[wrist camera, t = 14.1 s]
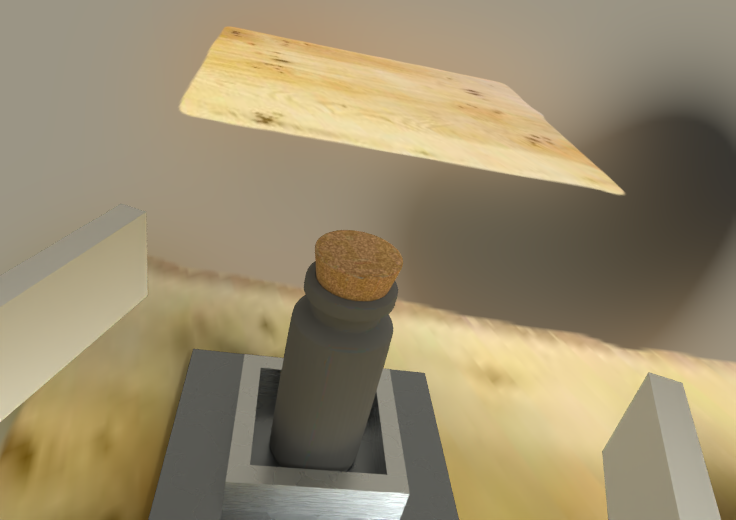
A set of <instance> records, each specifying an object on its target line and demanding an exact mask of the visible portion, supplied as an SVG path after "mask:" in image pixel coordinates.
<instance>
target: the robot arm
mask: <svg viewBox="0 0 736 520" xmlns="http://www.w3.org/2000/svg"><path fill="white" fill-rule="evenodd" d="M146 222H147V216H146V212H145V211H142V210H139V209H136V208H133V207H130V206H127V205H124V204H120V205H118V206H116V207H115V208H113V209H111V210H110V211H108V212H106V213H105V214H103V215H101V216H99V217H98V218H96V219H94V220H93V221H91V222H89V223H88V224H86V225H84V226H83V227H81V228H79V229H77V230H76V231H74V232H72V233H71V234H69V235H67V236H66V237H64V238H62V239H61V240H59V241H57V242H56V243H54V244H52V245H51V246H49V247H47V248H46V249H44V250H42V251H40V252H39V253H37V254H36V255H34V256H32V257H30V258H29V259H27V260H26V261H24V262H22V263H20V264H19V265H17V266H15V267H14V268H12V269H10V270H8V271H7V272H5V273H3V274H2V275H0V422H1V421H2V420H3V419H4V418H5V417H7V416H8V415H9V414H10V413H11V412H12V411H14V410H15V409H16V408H17V407H18V406H20V405H21V404H22V403H23V402H24V401H25V400H27V399H28V398H29V397H30V396H31V395H32V394H34V393H35V392H36V391H37V390H38V389H39V388H41V387H42V386H43V385H44V384H45V383H46V382H48V381H49V380H50V379H51V378H52V377H53V376H55V375H56V374H57V373H58V372H59V371H60V370H62V369H63V368H64V367H65V366H66V365H67V364H69V363H70V362H71V361H72V360H73V359H74V358H76V357H77V356H78V355H79V354H80V353H81V352H83V351H84V350H85V349H86V348H87V347H88V346H90V345H91V344H92V343H93V342H94V341H95V340H97V339H98V338H99V337H100V336H101V335H102V334H104V333H105V332H106V331H107V330H108V329H109V328H111V327H112V326H113V325H114V324H115V323H116V322H118V321H119V320H120V319H121V318H122V317H123V316H125V315H126V314H127V313H128V312H129V311H130V310H132V309H133V308H134V307H135V306H136V305H137V304H139V303H140V302H141V301H142V300H143V299H144V298H146V297H147V296H148V277H147V223H146ZM602 454H603V465H604V477H605V488H606V499H607V511H608V520H721V517H720V513H719V510H718V506H717V503H716V499H715V496H714V492H713V489H712V485H711V482H710V478H709V475H708V471H707V468H706V464H705V461H704V457H703V454H702V450H701V447H700V443H699V440H698V436H697V433H696V429H695V425H694V422H693V418H692V415H691V411H690V408H689V404H688V401H687V397H686V394H685V390H684V387H683V383H681V382H677V381H674V380H671V379H668V378H665V377H662V376H659V375H656V374H652V373H648V374H647V376H646V378H645V379H644V381H643V383H642V385H641V386H640V388H639V390H638V391H637V393H636V395H635V397H634V398H633V400H632V402H631V403H630V405H629V407H628V409H627V410H626V412H625V414H624V415H623V417H622V419H621V420H620V422H619V424H618V426H617V427H616V429H615V431H614V432H613V434H612V436H611V438H610V439H609V441H608V443H607V444H606V446H605V448H604V450H603V451H602Z"/></svg>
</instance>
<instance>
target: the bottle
mask: <svg viewBox="0 0 736 520" xmlns="http://www.w3.org/2000/svg"><path fill="white" fill-rule="evenodd" d="M315 258H316V261H315V262H314V263H312V264H311V266H310V267H309V268H308V271H307V272H306V277H305V282H304V291H305V294H306V295H305V296H303V297H302V298H301V299H300V300H299V301H298V302H297V303H296V305H295V306H294V309H293V313H292V317H291V322H290V327H289V332H288V337H287V343H286V349H285V354H284V360H283V365H282V371H281V376H280V382H279V387H278V393H277V398H276V404H275V410H274V416H273V423H272V429H271V435H270V447H271V451H272V453H273V456H274V458H275V460H276V461H277V462H278V464H279V465H280V466H281V467H285V468H300V469H314V470H328V471H342V472H346V471H347V470H348V469H349V468H350V467H351V466H352V464H353V462H354V461H355V458H356V456H357V453H358V450H359V447H360V444H361V441H362V437H363V434H364V431H365V427H366V424H367V421H368V417H369V414H370V411H371V407H372V404H373V401H374V397H375V394H376V391H377V387H378V384H379V381H380V377H381V374H382V370H383V367H384V364H385V360H386V357H387V353H388V350H389V346H390V342H391V338H392V334H393V324H392V321H391V318H390V316H389V315H388V314H389V313H390V312H391V311H392V309H393V308H394V306H395V302H396V299H397V294H398V287H397V284H396V282H395V279H396V277H397V276H398V274H399V272H400V270H401V268H402V265H403V260H402V257H401V255H400V253H399V251H398V250H397V249H396V248H395V247H394V246H392V245H391V244H390V243H388V242H387V241H385V240H383V239H382V238H379V237H377V236H375V235H372V234H368V233H365V232H359V231H352V230H338V231H333V232H329V233H326V234H325V235H323V236H321V237H320V238H319V239H318V240H317V242H316V245H315Z"/></svg>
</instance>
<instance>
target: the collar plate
mask: <svg viewBox="0 0 736 520" xmlns="http://www.w3.org/2000/svg"><path fill="white" fill-rule="evenodd" d="M283 360H284V358H278V357H268V356H259V355H249V354H237V353H228V352H218V351H208V350H199V349H193V352H192V356H191V360H190V364H189V368H188V371H187V375H186V379H185V383H184V387H183V390H182V394H181V398H180V402H179V406H178V409H177V413H176V417H175V421H174V424H173V428H172V432H171V436H170V440H169V443H168V447H167V451H166V455H165V459H164V462H163V466H162V470H161V474H160V477H159V481H158V485H157V489H156V493H155V496H154V500H153V504H152V508H151V512H150V515H149V519H148V520H459V518H458V514H457V509H456V505H455V501H454V497H453V492H452V488H451V484H450V479H449V475H448V471H447V467H446V462H445V458H444V454H443V449H442V445H441V441H440V437H439V432H438V428H437V424H436V419H435V415H434V411H433V407H432V402H431V398H430V394H429V389H428V385H427V381H426V377H425V373H419V372H410V371H400V370H391V369H383V370H382V374H381V377H380V381H379V384H378V387H377V391H376V394H375V397H374V401H373V404H372V407H371V411H370V414H369V417H368V421H367V424H366V427H365V431H364V434H363V437H362V441H361V444H360V447H359V450H358V453H357V456H356V458H355V461H354V462H353V464H352V466H351V467H350V468H349V469H348V470H347V471H346V472H342V471H328V470H314V469H300V468H285V467H281V466H280V465H279V464H278V462H277V461H276V460H275V458H274V456H273V453H272V451H271V447H270V435H271V429H272V423H273V416H274V410H275V404H276V398H277V393H278V387H279V382H280V376H281V371H282V365H283Z"/></svg>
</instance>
